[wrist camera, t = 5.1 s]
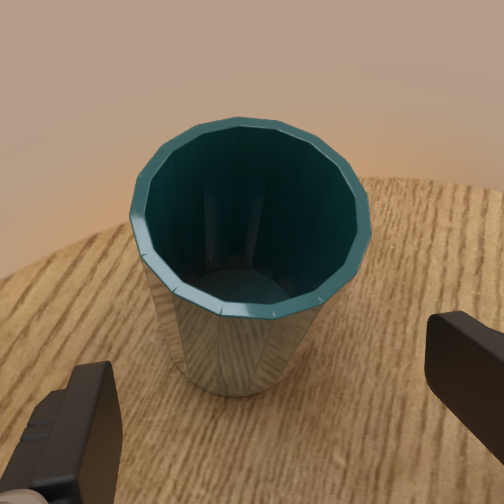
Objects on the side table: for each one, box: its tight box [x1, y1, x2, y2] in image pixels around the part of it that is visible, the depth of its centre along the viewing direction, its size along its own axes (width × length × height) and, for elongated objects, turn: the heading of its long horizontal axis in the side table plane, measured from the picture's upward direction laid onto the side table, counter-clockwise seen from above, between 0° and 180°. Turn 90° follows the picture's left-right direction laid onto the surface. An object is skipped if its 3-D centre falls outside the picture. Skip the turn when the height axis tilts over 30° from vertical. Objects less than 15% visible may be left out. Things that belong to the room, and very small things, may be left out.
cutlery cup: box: [129, 117, 372, 397], centre depth 16 cm, size 6×6×10 cm
